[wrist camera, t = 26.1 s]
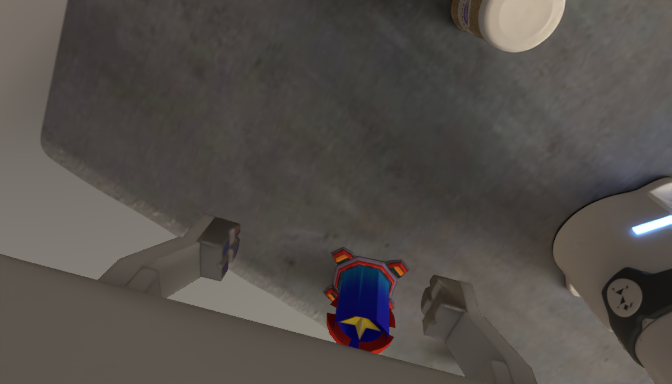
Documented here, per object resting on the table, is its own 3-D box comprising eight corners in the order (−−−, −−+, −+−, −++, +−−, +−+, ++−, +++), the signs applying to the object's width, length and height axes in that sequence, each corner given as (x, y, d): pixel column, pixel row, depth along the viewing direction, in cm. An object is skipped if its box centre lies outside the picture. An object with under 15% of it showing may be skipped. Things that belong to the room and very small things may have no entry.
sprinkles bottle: (445, -9, 31) (477, -11, 20) (496, -33, 30) (564, -50, 18) (456, 40, 33) (492, 65, 21) (505, 20, 31) (571, 35, 20)
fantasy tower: (322, 298, 55) (306, 368, 44) (333, 244, 48) (318, 311, 38) (392, 314, 54) (393, 388, 44) (412, 261, 48) (418, 333, 38)
